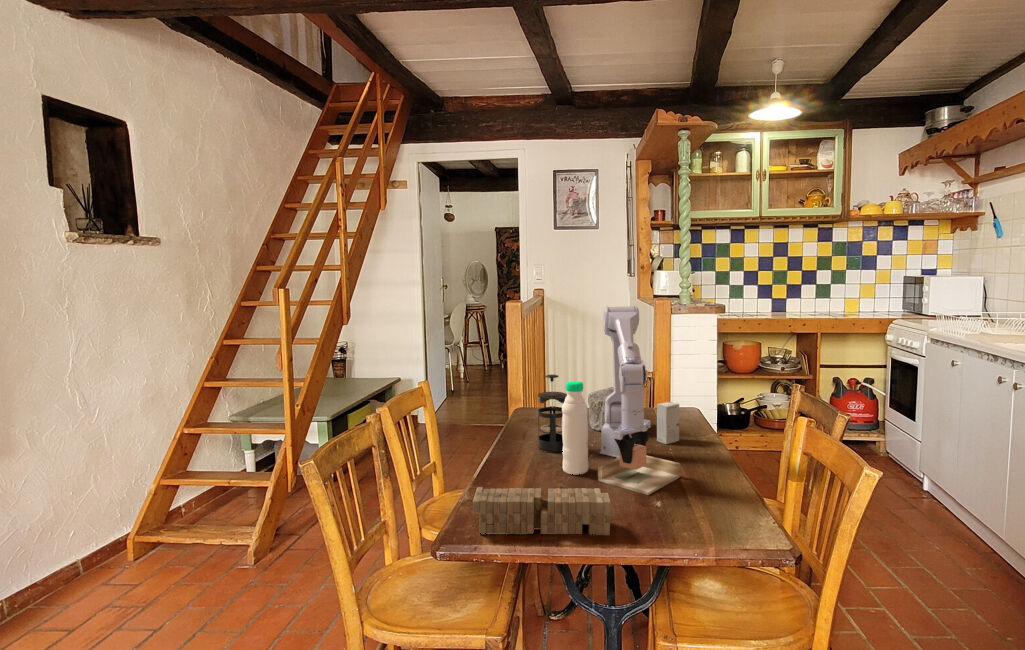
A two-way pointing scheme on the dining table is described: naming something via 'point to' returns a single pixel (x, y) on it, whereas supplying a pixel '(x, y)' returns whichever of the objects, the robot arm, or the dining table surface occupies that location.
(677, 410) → the skincare box
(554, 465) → the dining table surface
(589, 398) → the grey brown chunky block
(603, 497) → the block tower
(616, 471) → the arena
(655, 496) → the dining table surface
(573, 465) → the milk bottle
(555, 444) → the french press
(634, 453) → the terracotta cube
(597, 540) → the dining table surface
